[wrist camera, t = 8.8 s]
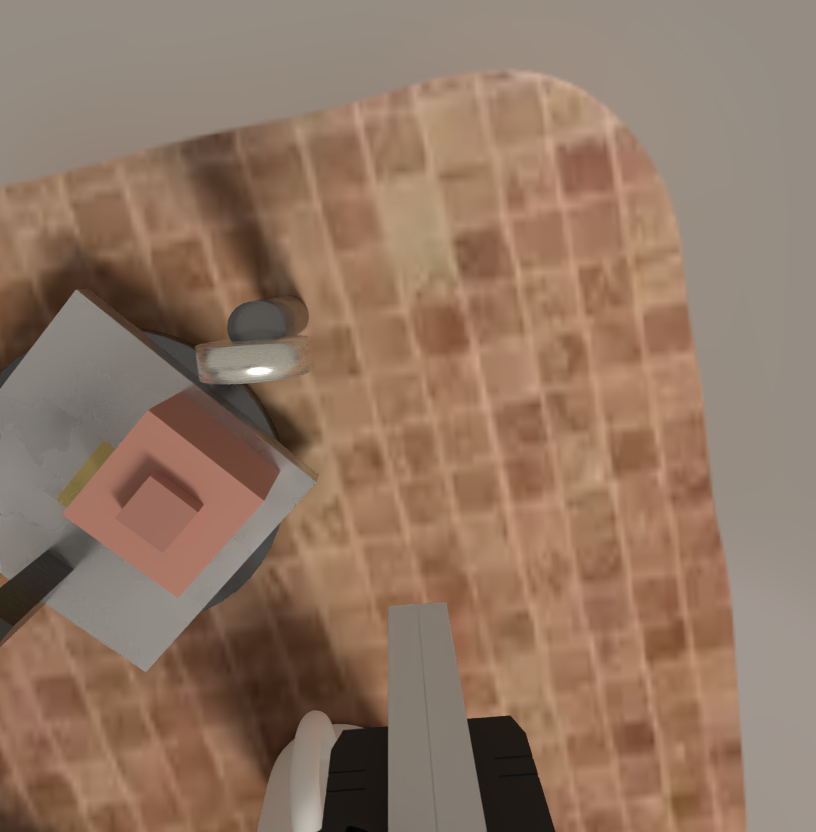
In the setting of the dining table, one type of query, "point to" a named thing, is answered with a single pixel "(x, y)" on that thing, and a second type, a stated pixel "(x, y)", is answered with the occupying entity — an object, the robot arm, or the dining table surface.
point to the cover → (173, 493)
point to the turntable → (80, 460)
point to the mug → (301, 777)
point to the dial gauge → (258, 344)
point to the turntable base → (241, 400)
